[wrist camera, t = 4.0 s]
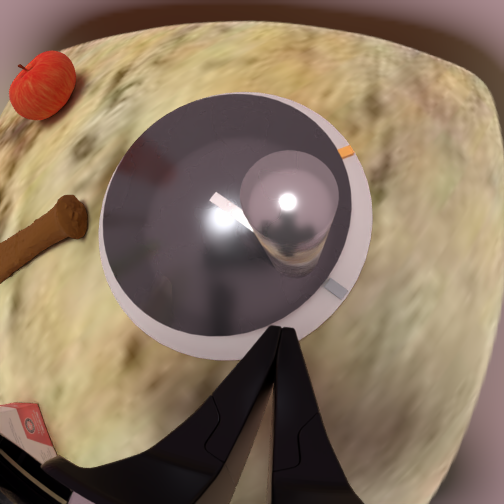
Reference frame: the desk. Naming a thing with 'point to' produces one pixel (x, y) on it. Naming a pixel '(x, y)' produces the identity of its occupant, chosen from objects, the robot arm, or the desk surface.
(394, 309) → the desk surface
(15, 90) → the apple
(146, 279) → the dial
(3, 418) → the ink cartridge box
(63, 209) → the primitive tool
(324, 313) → the dial base
